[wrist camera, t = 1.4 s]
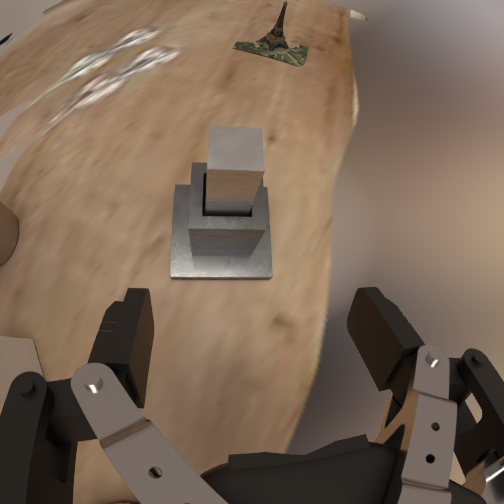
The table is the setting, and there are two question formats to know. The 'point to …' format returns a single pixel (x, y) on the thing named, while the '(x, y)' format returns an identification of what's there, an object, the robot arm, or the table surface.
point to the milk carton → (16, 361)
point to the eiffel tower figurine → (276, 45)
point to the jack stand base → (218, 236)
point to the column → (233, 170)
